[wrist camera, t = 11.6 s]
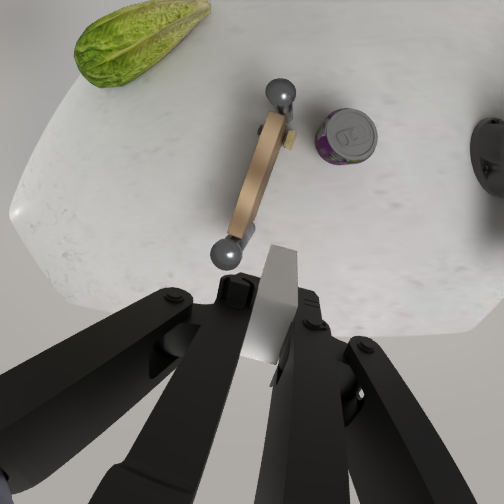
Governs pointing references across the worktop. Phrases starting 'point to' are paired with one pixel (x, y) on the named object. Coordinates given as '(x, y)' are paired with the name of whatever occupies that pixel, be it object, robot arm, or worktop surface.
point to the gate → (258, 173)
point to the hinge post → (230, 250)
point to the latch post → (281, 97)
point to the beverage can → (346, 137)
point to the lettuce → (135, 39)
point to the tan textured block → (290, 139)
